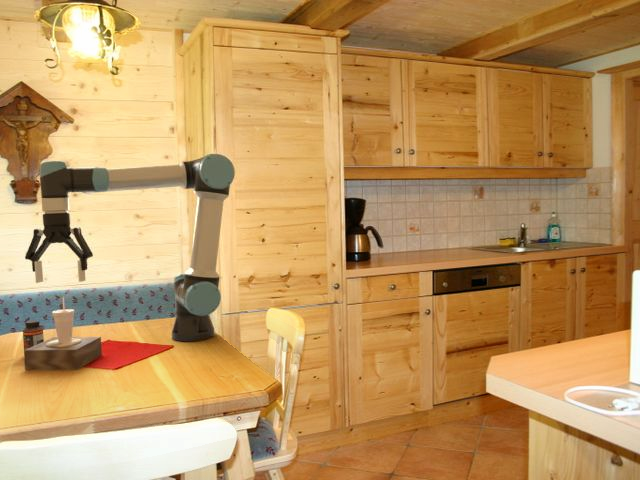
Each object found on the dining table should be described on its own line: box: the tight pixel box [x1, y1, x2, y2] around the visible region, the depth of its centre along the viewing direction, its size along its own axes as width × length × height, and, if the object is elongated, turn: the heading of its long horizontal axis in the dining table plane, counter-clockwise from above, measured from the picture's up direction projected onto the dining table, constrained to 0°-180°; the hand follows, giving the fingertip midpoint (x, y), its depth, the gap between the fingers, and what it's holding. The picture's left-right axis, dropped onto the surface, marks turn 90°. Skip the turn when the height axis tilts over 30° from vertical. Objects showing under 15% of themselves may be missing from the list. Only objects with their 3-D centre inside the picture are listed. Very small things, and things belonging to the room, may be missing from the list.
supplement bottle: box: [22, 319, 45, 351], centre depth 186 cm, size 6×6×11 cm
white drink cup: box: [51, 296, 76, 343], centre depth 176 cm, size 6×6×14 cm
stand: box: [23, 336, 103, 371], centre depth 176 cm, size 16×16×6 cm
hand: (60, 281), depth 175 cm, fingers open, 13 cm apart
